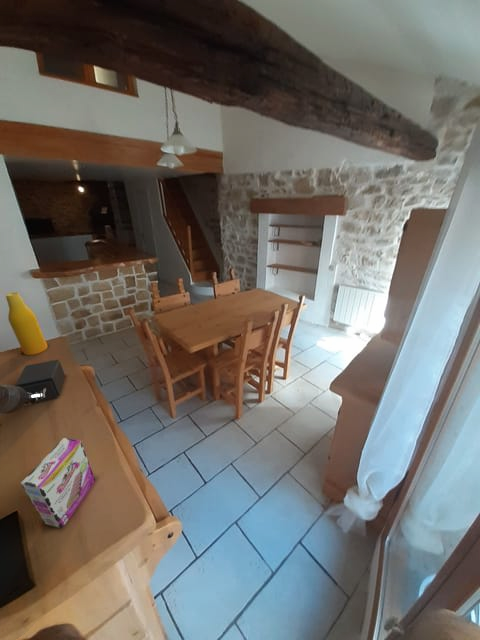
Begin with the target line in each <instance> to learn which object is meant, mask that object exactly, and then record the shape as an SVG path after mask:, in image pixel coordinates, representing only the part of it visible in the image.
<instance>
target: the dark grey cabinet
mask: <svg viewBox="0 0 480 640" xmlns="http://www.w3.org/2000/svg"><path fill="white" fill-rule="evenodd" d="M65 379H66V374H65V372H64V369H63V367H62V364H61V361H60V359H53V360H49V361H43V362H38V363H33V364H27V365H25V366H24V368H23V370H22V371H21V373H20V376H19V377H18V378H17V380H16V383H15V385H14V386H18V387H20V386H23V385H28V384H32V383H37V382H42V381H47V380H51V382H52V384H53V386H54V389H55V391H56V393H57V396H58V397H60V396H61V392H62V389H63V385H64V384H65V383H64V382H65Z"/></svg>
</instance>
